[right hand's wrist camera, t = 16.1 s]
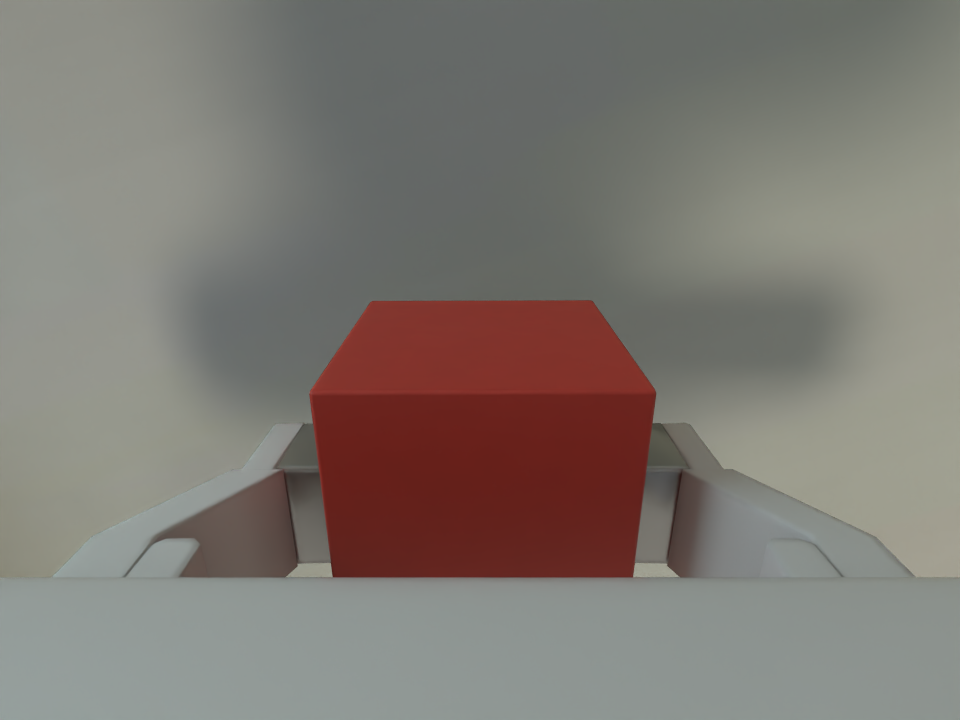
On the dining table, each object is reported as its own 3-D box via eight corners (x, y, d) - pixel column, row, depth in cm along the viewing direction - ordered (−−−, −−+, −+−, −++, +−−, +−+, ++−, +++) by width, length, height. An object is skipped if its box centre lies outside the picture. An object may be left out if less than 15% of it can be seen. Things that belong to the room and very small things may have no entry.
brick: (577, 514, 13) (620, 683, 9) (387, 514, 13) (345, 683, 9) (593, 299, 11) (658, 390, 7) (370, 300, 11) (306, 391, 7)
